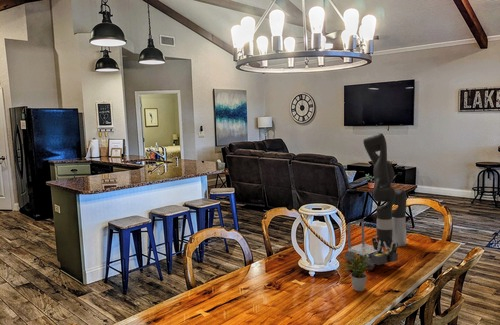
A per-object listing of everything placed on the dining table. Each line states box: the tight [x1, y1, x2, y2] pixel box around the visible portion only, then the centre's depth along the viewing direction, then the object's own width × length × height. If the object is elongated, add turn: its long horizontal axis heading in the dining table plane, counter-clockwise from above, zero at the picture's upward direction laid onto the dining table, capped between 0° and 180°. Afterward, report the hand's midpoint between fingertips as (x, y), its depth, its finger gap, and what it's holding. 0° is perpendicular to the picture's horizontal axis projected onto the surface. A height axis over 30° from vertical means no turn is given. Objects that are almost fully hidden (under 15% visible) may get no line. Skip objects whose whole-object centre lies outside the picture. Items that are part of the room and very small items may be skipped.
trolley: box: [344, 218, 384, 270], centre depth 202 cm, size 18×12×22 cm, turn 35°
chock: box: [372, 250, 399, 266], centre depth 193 cm, size 13×4×4 cm, turn 115°
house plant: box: [340, 252, 369, 292], centre depth 174 cm, size 14×14×16 cm
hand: (384, 260), depth 193 cm, fingers closed on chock, 5 cm apart
